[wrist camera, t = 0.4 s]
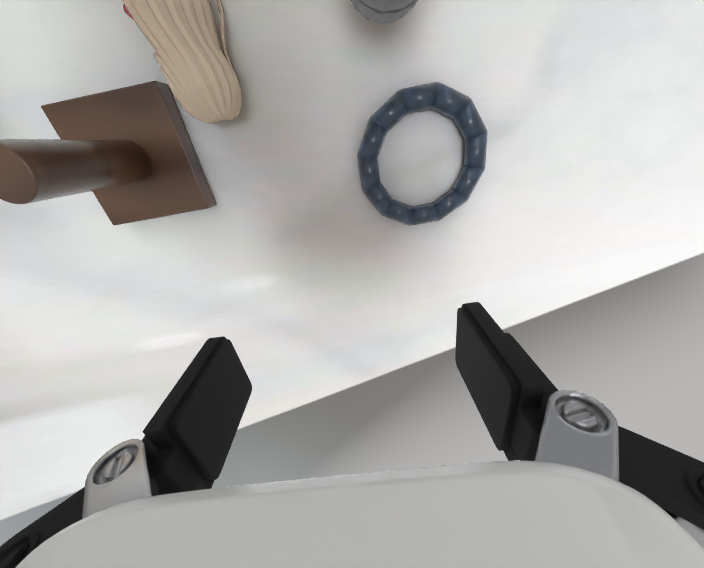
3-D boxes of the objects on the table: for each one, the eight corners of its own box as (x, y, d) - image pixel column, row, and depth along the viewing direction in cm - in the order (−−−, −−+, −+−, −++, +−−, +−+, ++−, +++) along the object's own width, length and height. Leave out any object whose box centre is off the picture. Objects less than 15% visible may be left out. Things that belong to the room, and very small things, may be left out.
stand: (59, 107, 21) (-176, 80, 11) (168, 84, 20) (13, 35, 11) (125, 221, 25) (-7, 268, 16) (216, 204, 24) (136, 243, 15)
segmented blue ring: (349, 101, 21) (349, 98, 19) (485, 73, 20) (495, 68, 19) (367, 229, 26) (368, 234, 24) (477, 210, 25) (485, 215, 23)
